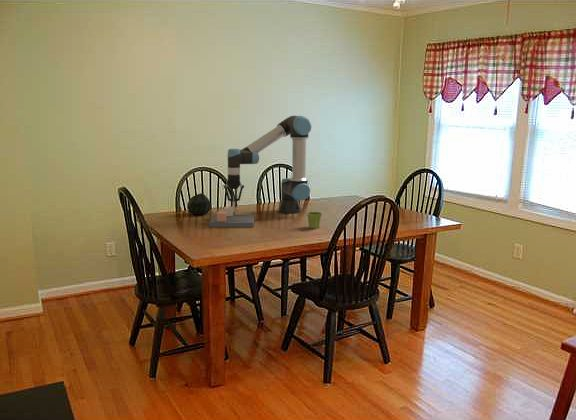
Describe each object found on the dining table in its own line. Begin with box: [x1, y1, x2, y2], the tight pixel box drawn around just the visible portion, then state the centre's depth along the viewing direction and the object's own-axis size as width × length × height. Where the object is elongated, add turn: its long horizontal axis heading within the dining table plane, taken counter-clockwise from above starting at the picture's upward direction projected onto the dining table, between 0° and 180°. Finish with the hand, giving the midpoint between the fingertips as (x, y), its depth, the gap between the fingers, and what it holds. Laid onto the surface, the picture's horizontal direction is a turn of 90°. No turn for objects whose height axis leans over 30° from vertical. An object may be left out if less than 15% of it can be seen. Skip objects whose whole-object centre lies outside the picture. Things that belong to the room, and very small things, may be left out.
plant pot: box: [306, 211, 323, 229], centre depth 300 cm, size 9×9×9 cm
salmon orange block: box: [216, 210, 226, 222], centre depth 299 cm, size 5×6×5 cm
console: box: [208, 213, 255, 229], centre depth 308 cm, size 26×24×3 cm
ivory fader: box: [223, 206, 234, 216], centre depth 314 cm, size 5×6×5 cm
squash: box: [186, 192, 211, 216], centre depth 330 cm, size 14×15×15 cm
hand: (233, 211), depth 314 cm, fingers closed
